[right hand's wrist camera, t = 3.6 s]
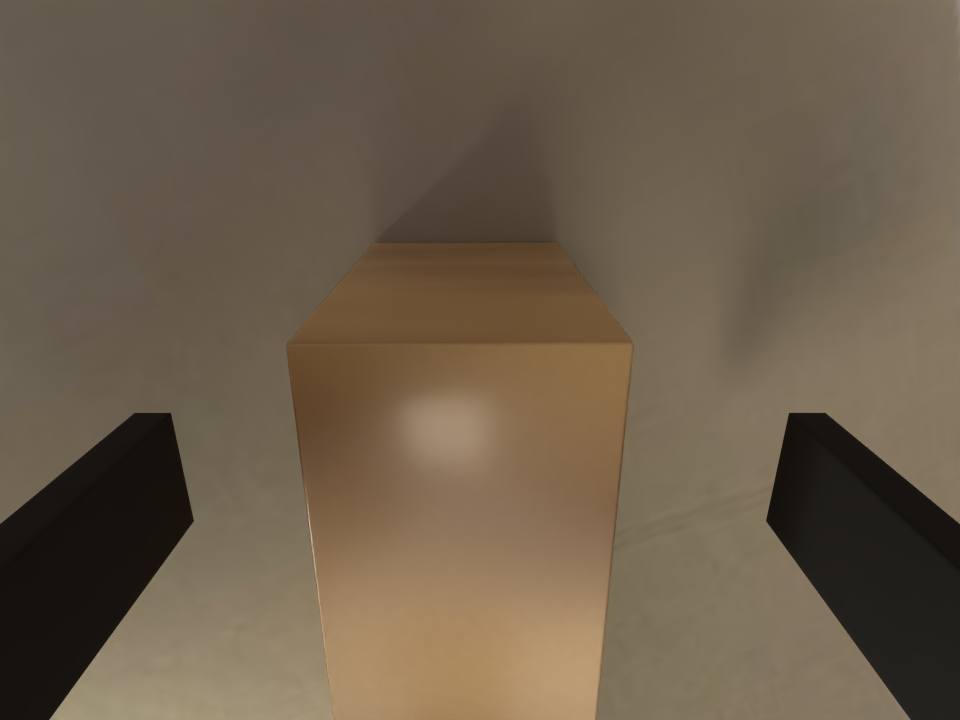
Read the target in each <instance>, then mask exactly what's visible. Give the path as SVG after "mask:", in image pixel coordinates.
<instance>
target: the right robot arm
mask: <svg viewBox="0 0 960 720" xmlns="http://www.w3.org/2000/svg"><path fill="white" fill-rule="evenodd" d="M193 521H194V520H193V515H192V510H191V505H190V501H189V496H188V491H187V487H186V482H185V477H184V473H183V468H182V463H181V458H180V454H179V449H178V444H177V440H176V435H175V430H174V426H173V421H172V416H171V413H134V414H133V415H132V416H131V417H129V418H128V419H127V420H126V421H125V422H123V423H122V424H121V425H120V426H118V427H117V428H116V429H115V430H114V431H112V432H111V433H110V434H109V435H108V436H106V437H105V438H104V439H103V440H102V441H100V442H99V443H98V444H97V445H95V446H94V447H93V448H92V449H91V450H89V451H88V452H87V453H86V454H85V455H83V456H82V457H81V458H80V459H79V460H77V461H76V462H75V463H74V464H73V465H71V466H70V467H69V468H68V469H66V470H65V471H64V472H63V473H62V474H60V475H59V476H58V477H57V478H56V479H54V480H53V481H52V482H51V483H50V484H48V485H47V486H46V487H45V488H43V489H42V490H41V491H40V492H39V493H37V494H36V495H35V496H34V497H33V498H31V499H30V500H29V501H28V502H27V503H25V504H24V505H23V506H22V507H20V508H19V509H18V510H17V511H16V512H14V513H13V514H12V515H11V516H10V517H8V518H7V519H6V520H5V521H4V522H2V523H1V524H0V720H49V719H50V718H51V717H52V715H53V714H54V712H55V711H56V710H57V708H58V707H59V706H60V704H61V703H62V701H63V700H64V699H65V697H66V696H67V695H68V693H69V692H70V690H71V689H72V688H73V686H74V685H75V684H76V682H77V681H78V679H79V678H80V677H81V675H82V674H83V673H84V671H85V670H86V668H87V667H88V666H89V664H90V663H91V662H92V660H93V659H94V658H95V656H96V655H97V653H98V652H99V651H100V649H101V648H102V647H103V645H104V644H105V642H106V641H107V640H108V638H109V637H110V636H111V634H112V633H113V631H114V630H115V629H116V627H117V626H118V625H119V623H120V622H121V620H122V619H123V618H124V616H125V615H126V614H127V612H128V611H129V609H130V608H131V607H132V605H133V604H134V603H135V601H136V600H137V598H138V597H139V596H140V594H141V593H142V592H143V590H144V589H145V587H146V586H147V585H148V583H149V582H150V581H151V579H152V578H153V576H154V575H155V574H156V572H157V571H158V570H159V568H160V567H161V565H162V564H163V563H164V561H165V560H166V559H167V557H168V556H169V554H170V553H171V552H172V550H173V549H174V548H175V546H176V545H177V543H178V542H179V541H180V539H181V538H182V537H183V535H184V534H185V532H186V531H187V530H188V528H189V527H190V526H191V524H192V523H193ZM766 521H767V523H768V524H769V526H770V527H771V528H772V530H773V531H774V532H775V534H776V535H777V537H778V538H779V539H780V541H781V542H782V543H783V545H784V546H785V548H786V549H787V550H788V552H789V553H790V554H791V556H792V557H793V559H794V560H795V561H796V563H797V564H798V565H799V567H800V568H801V570H802V571H803V572H804V574H805V575H806V576H807V578H808V579H809V581H810V582H811V583H812V585H813V586H814V587H815V589H816V590H817V592H818V593H819V594H820V596H821V597H822V598H823V600H824V601H825V603H826V604H827V605H828V607H829V608H830V609H831V611H832V612H833V614H834V615H835V616H836V618H837V619H838V620H839V622H840V623H841V625H842V626H843V627H844V629H845V630H846V631H847V633H848V634H849V636H850V637H851V638H852V640H853V641H854V642H855V644H856V645H857V647H858V648H859V649H860V651H861V652H862V653H863V655H864V656H865V658H866V659H867V660H868V662H869V663H870V664H871V666H872V667H873V668H874V670H875V671H876V673H877V674H878V675H879V677H880V678H881V679H882V681H883V682H884V684H885V685H886V686H887V688H888V689H889V690H890V692H891V693H892V695H893V696H894V697H895V699H896V700H897V701H898V703H899V704H900V706H901V707H902V708H903V710H904V711H905V712H906V714H907V715H908V717H909V718H910V719H911V720H960V524H959V523H958V522H956V521H955V520H954V519H953V518H952V517H950V516H949V515H948V514H947V513H946V512H944V511H943V510H942V509H941V508H940V507H938V506H937V505H936V504H935V503H933V502H932V501H931V500H930V499H929V498H927V497H926V496H925V495H924V494H923V493H921V492H920V491H919V490H918V489H917V488H915V487H914V486H913V485H912V484H910V483H909V482H908V481H907V480H906V479H904V478H903V477H902V476H901V475H900V474H898V473H897V472H896V471H895V470H894V469H892V468H891V467H890V466H889V465H887V464H886V463H885V462H884V461H883V460H881V459H880V458H879V457H878V456H877V455H875V454H874V453H873V452H872V451H871V450H869V449H868V448H867V447H866V446H865V445H863V444H862V443H861V442H860V441H858V440H857V439H856V438H855V437H854V436H852V435H851V434H850V433H849V432H848V431H846V430H845V429H844V428H843V427H842V426H840V425H839V424H838V423H837V422H835V421H834V420H833V419H832V418H831V417H829V416H828V415H827V414H826V413H789V416H788V421H787V426H786V430H785V435H784V440H783V444H782V449H781V454H780V458H779V463H778V468H777V473H776V477H775V482H774V487H773V491H772V496H771V501H770V505H769V510H768V515H767V520H766Z"/></svg>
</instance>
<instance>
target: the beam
mask: <svg viewBox="0 0 960 720" xmlns="http://www.w3.org/2000/svg"><path fill="white" fill-rule="evenodd" d="M633 348H634V344H633V342H632V340H631V339H630V338H629V336H628V335H627V334H626V332H625V331H624V330H623V328H622V327H621V326H620V324H619V323H618V322H617V321H616V319H615V318H614V317H613V315H612V314H611V313H610V311H609V310H608V309H607V307H606V306H605V305H604V303H603V302H602V301H601V299H600V298H599V297H598V295H597V294H596V293H595V292H594V290H593V289H592V288H591V286H590V285H589V284H588V282H587V281H586V280H585V278H584V277H583V276H582V274H581V273H580V272H579V270H578V269H577V268H576V266H575V265H574V264H573V263H572V261H571V260H570V259H569V257H568V256H567V255H566V253H565V252H564V251H563V249H562V248H561V247H560V245H559V244H558V243H556V242H546V243H373V244H372V245H371V247H370V248H369V249H368V250H367V251H366V252H365V254H364V255H363V256H362V257H361V258H360V259H359V261H358V262H357V263H356V264H355V265H354V266H353V268H352V269H351V270H350V271H349V272H348V273H347V274H346V276H345V277H344V278H343V279H342V280H341V281H340V283H339V284H338V285H337V286H336V287H335V288H334V290H333V291H332V292H331V293H330V294H329V295H328V297H327V298H326V299H325V300H324V301H323V302H322V304H321V305H320V306H319V307H318V308H317V309H316V311H315V312H314V313H313V314H312V315H311V316H310V318H309V319H308V320H307V321H306V322H305V323H304V325H303V326H302V327H301V328H300V329H299V330H298V332H297V333H296V334H295V335H294V336H293V337H292V338H291V340H290V341H289V342H288V343H287V345H286V349H287V357H288V365H289V373H290V381H291V388H292V396H293V404H294V412H295V420H296V428H297V436H298V444H299V452H300V459H301V467H302V475H303V483H304V491H305V499H306V507H307V515H308V522H309V530H310V538H311V546H312V554H313V562H314V570H315V578H316V586H317V593H318V601H319V609H320V617H321V625H322V633H323V641H324V649H325V657H326V664H327V672H328V680H329V688H330V696H331V704H332V712H333V720H596V716H597V706H598V696H599V686H600V676H601V666H602V656H603V646H604V636H605V626H606V616H607V606H608V596H609V586H610V576H611V566H612V557H613V547H614V537H615V527H616V517H617V507H618V497H619V487H620V477H621V467H622V457H623V447H624V437H625V427H626V417H627V407H628V397H629V387H630V377H631V367H632V357H633Z"/></svg>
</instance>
